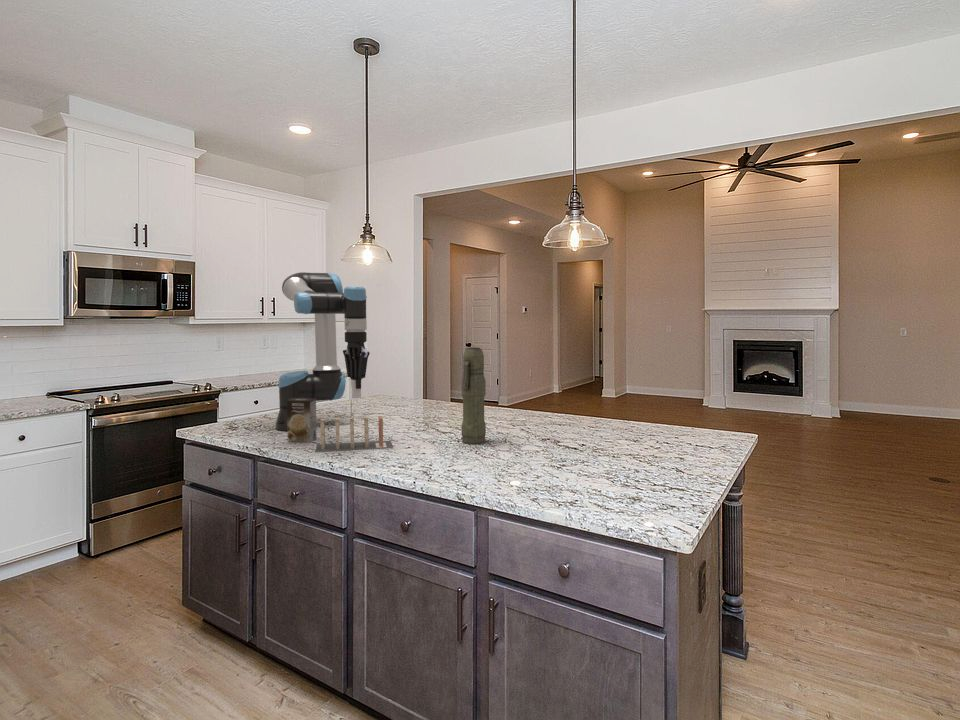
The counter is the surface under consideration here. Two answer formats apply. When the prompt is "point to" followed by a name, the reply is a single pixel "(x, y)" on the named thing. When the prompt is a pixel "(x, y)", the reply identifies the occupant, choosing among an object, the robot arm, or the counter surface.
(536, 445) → the counter surface
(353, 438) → the domino
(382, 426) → the domino
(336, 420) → the domino
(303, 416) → the coffee box
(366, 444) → the domino
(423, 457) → the counter surface
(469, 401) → the thermos
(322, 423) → the domino
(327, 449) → the mat
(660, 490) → the counter surface
